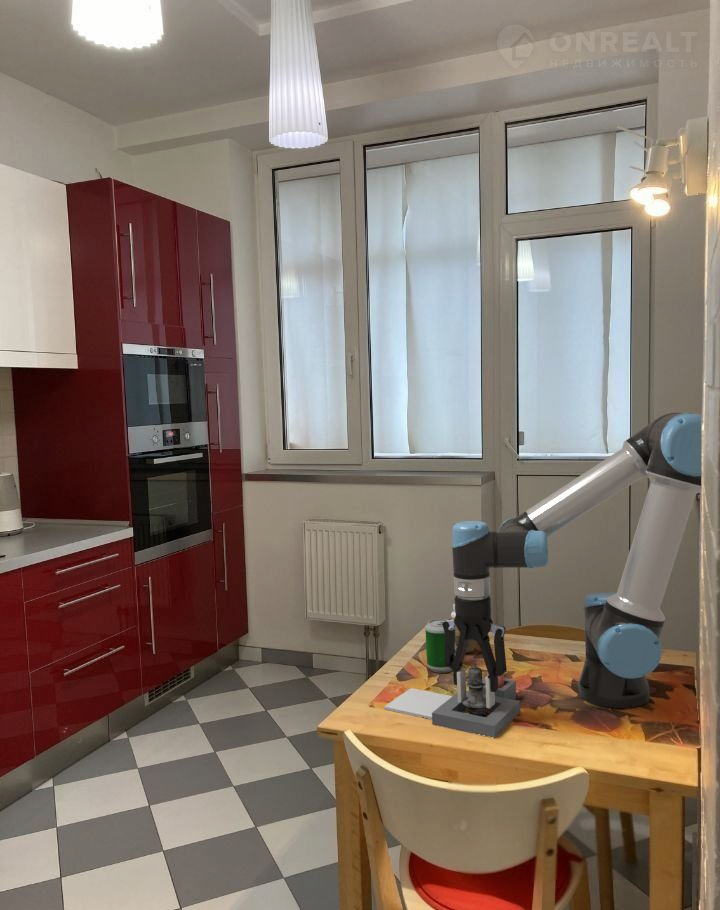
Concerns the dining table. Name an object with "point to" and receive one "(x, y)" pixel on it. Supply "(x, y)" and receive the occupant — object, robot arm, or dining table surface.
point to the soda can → (436, 646)
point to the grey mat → (417, 703)
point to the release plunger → (499, 680)
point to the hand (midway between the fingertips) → (476, 702)
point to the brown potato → (471, 643)
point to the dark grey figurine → (475, 694)
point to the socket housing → (488, 726)
